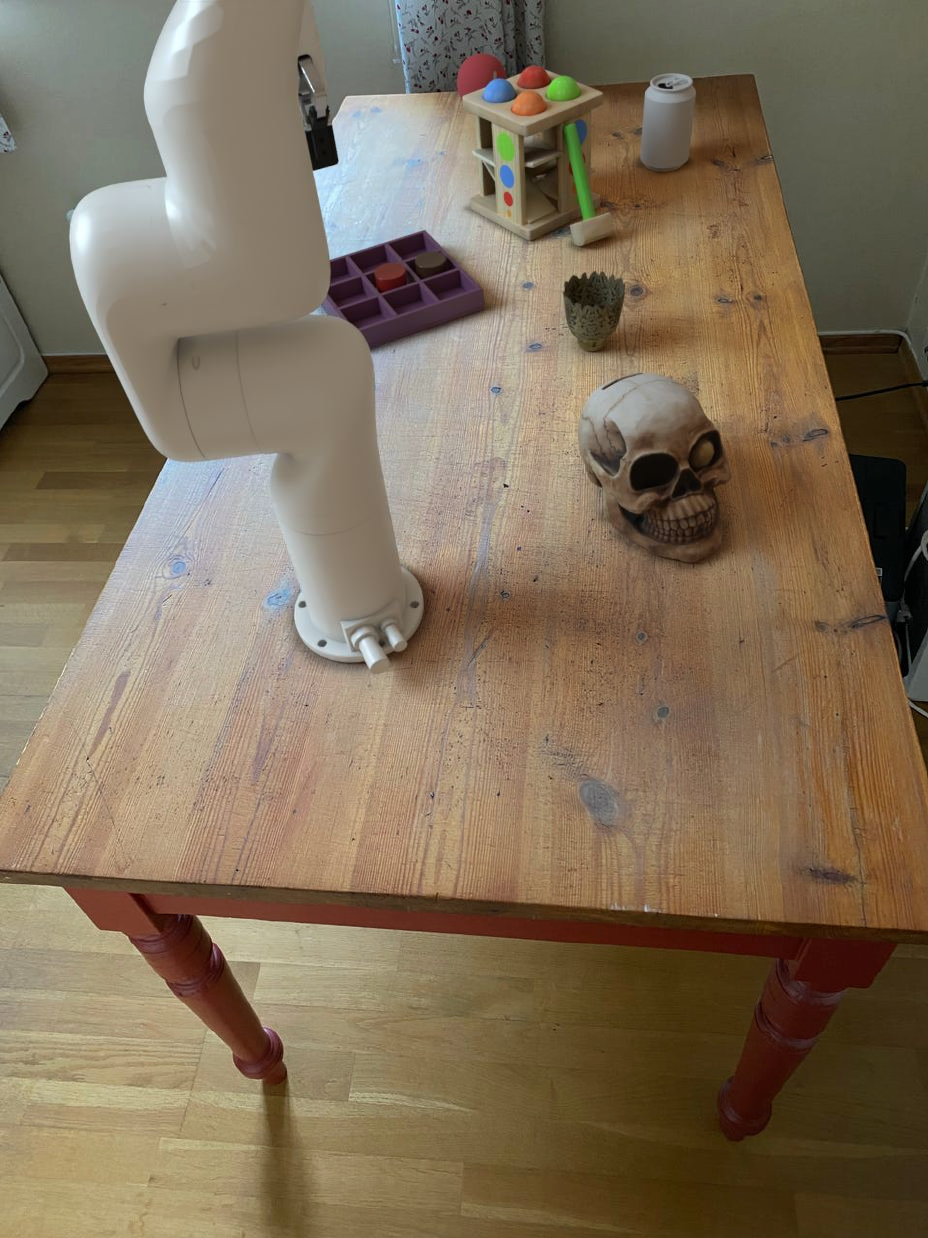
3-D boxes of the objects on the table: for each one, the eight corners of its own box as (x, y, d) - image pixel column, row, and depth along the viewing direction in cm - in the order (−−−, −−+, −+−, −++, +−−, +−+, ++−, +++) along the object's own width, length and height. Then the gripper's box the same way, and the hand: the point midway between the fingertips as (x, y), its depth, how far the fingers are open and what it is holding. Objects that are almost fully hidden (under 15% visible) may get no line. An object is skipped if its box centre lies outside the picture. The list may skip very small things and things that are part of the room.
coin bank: (706, 571, 86) (712, 459, 77) (547, 531, 94) (534, 425, 85) (756, 476, 95) (768, 365, 86) (606, 447, 103) (601, 342, 93)
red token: (413, 294, 121) (410, 273, 118) (385, 304, 120) (381, 282, 117) (401, 281, 123) (397, 259, 121) (373, 290, 122) (369, 268, 120)
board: (484, 309, 119) (483, 288, 116) (356, 353, 115) (352, 333, 112) (427, 249, 130) (424, 229, 127) (308, 287, 126) (303, 267, 123)
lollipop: (457, 165, 146) (448, 63, 134) (470, 144, 150) (463, 44, 139) (502, 168, 144) (497, 65, 132) (514, 147, 148) (511, 45, 137)
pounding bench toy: (642, 226, 129) (652, 92, 115) (568, 263, 124) (570, 128, 110) (538, 176, 141) (537, 49, 127) (468, 208, 136) (458, 80, 123)
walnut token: (452, 283, 122) (450, 261, 120) (425, 292, 121) (422, 270, 119) (440, 269, 125) (437, 248, 122) (412, 278, 124) (410, 257, 121)
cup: (618, 364, 109) (622, 305, 103) (558, 361, 110) (559, 302, 104) (624, 329, 113) (628, 271, 107) (566, 326, 115) (567, 268, 108)
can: (630, 160, 142) (636, 77, 133) (670, 148, 144) (678, 65, 135) (656, 178, 138) (664, 94, 128) (697, 165, 139) (707, 81, 130)
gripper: (209, -50, 88) (254, 132, 101) (259, -9, 78) (302, 189, 91) (281, -65, 90) (316, 116, 103) (339, -27, 79) (370, 170, 92)
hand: (309, 150), depth 97 cm, fingers open, 9 cm apart
